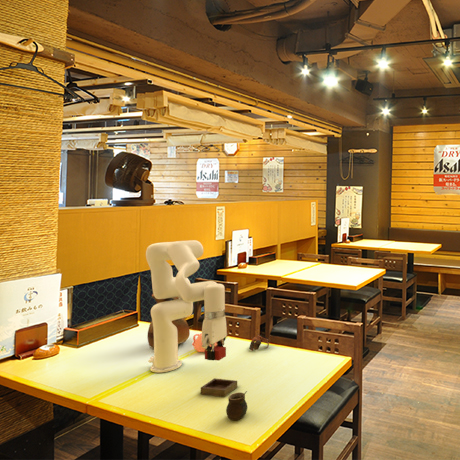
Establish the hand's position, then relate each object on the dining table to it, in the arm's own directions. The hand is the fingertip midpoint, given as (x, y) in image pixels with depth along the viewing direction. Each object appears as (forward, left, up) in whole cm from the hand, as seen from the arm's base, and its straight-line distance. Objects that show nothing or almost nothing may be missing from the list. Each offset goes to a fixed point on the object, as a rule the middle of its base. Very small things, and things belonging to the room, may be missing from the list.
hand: (215, 356), depth 152 cm
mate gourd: (+20, -15, -15) cm, 29 cm away
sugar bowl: (-35, +39, -15) cm, 54 cm away
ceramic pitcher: (-59, +41, -15) cm, 73 cm away
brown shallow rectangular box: (+1, +1, -15) cm, 15 cm away
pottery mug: (-8, +46, -15) cm, 49 cm away
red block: (0, 0, 0) cm, 0 cm away
